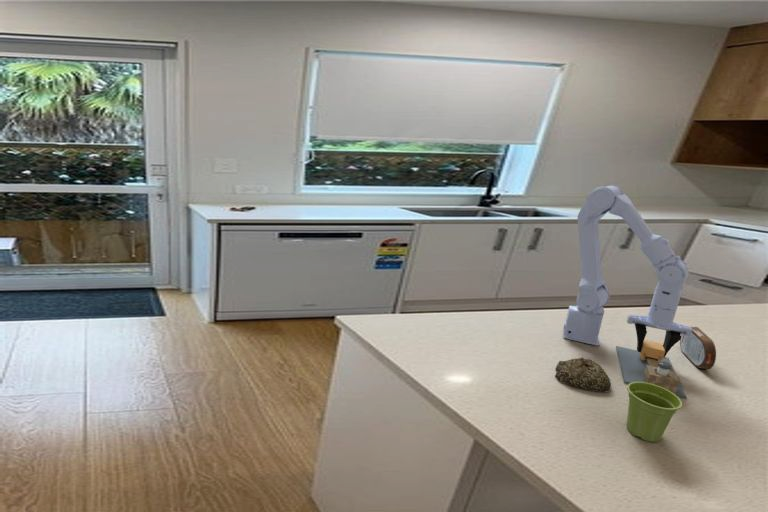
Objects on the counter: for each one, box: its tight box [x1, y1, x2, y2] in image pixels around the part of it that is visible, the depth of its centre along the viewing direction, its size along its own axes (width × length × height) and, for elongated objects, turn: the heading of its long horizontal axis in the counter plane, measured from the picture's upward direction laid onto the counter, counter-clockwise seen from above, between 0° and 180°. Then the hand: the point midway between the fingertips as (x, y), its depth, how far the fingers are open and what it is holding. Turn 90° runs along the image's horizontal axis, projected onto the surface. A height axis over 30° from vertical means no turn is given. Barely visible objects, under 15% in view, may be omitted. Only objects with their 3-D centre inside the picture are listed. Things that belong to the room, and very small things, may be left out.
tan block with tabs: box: [639, 339, 665, 362], centre depth 119 cm, size 5×5×4 cm
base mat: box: [615, 345, 688, 400], centre depth 115 cm, size 13×21×1 cm, turn 158°
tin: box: [679, 326, 717, 370], centre depth 122 cm, size 15×3×8 cm, turn 168°
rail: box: [644, 356, 658, 368], centre depth 116 cm, size 2×16×2 cm, turn 158°
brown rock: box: [554, 357, 612, 393], centre depth 108 cm, size 13×12×5 cm
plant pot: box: [626, 382, 683, 443], centre depth 89 cm, size 9×9×9 cm
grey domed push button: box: [656, 361, 673, 377], centre depth 106 cm, size 3×3×4 cm
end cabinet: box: [643, 365, 680, 394], centre depth 107 cm, size 6×5×4 cm
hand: (650, 353), depth 120 cm, fingers closed on tan block with tabs, 5 cm apart
